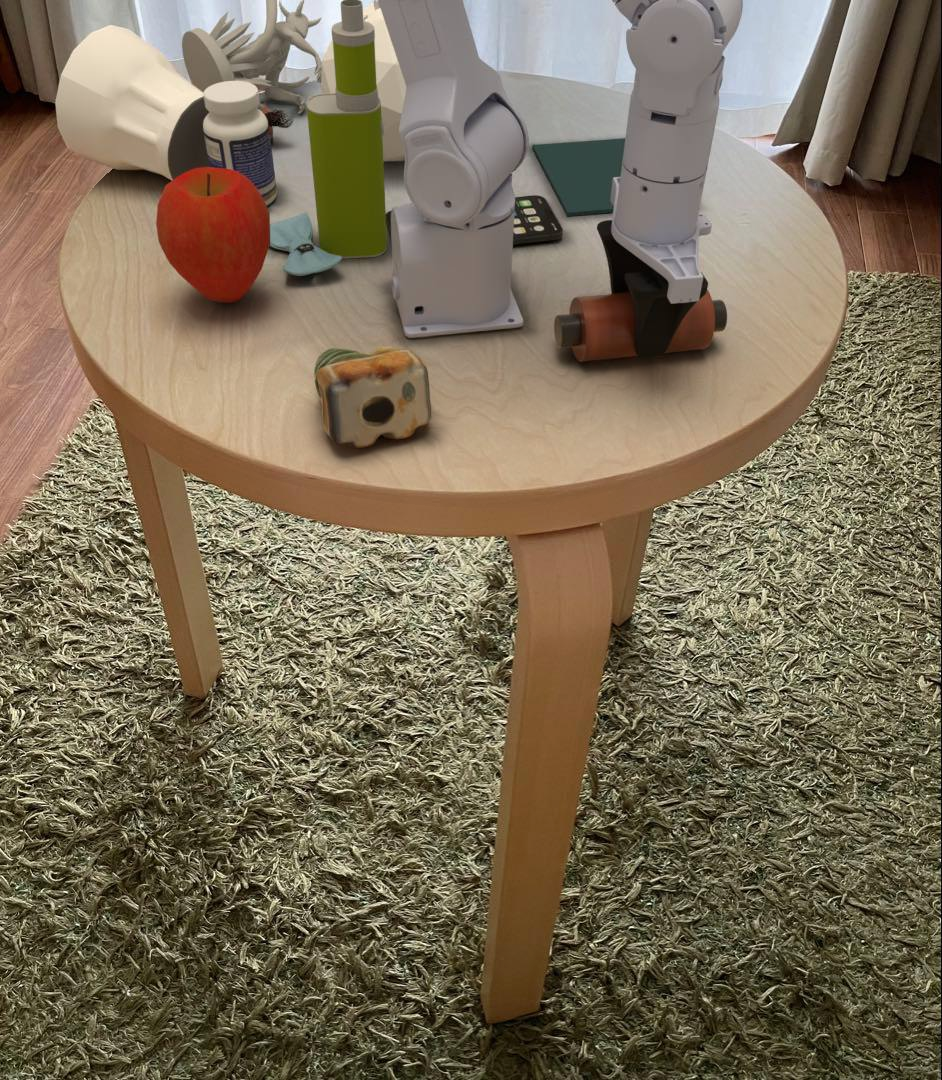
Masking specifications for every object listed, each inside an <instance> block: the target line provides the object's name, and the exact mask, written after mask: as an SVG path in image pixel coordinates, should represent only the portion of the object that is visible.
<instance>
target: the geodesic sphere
mask: <svg viewBox="0 0 942 1080" xmlns="http://www.w3.org/2000/svg"><path fill="white" fill-rule="evenodd" d="M363 21H365V22H368V23H370V24H372V25H373V26H374V30H375V39H374V41H375V63H376V85H377V89H378V97H379V99H380V101H381V117H382V122H383V126H384V134H383V137H382V141H383V162H405V152H404V147H403V144H402V141H401V138H400V135H399V124H400V119H401V114H402V109H403V104H404V100H405V95H406V84H405V81H404V78H403V75H402V72H401V69H400V66H399V63H398V60H397V57H396V54H395V51H394V48H393V45H392V42H391V39H390V36H389V33H388V29H387V26H386V23H385V20H384V17H383V14H382V11H381V8H380V5H379V2H378V0H373V2H372V3H370V4H369V5H367V6H366V7H365V8H364V7H363ZM320 85H321V87H320V89H321V92H320V94H329V93H336V92H335V90H336V78H335V64H334V51H333V39H332V38H331V41H330V42H329V45H328V47H327V49H326V51H325V53H324V55H323V57H322V59H321V83H320Z"/></svg>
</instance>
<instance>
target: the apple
mask: <svg viewBox="0 0 942 1080" xmlns="http://www.w3.org/2000/svg"><path fill="white" fill-rule="evenodd" d="M270 214H271V213H270V210H269V209H268V205H267V206H266V204H265V202H264V200H263V197H262V195H261V194H260V192H259V191H258V189H257V188H256V187H255V186H254V184H253V183H252V182H251V181H250V180H249V179H248V178H247V177H246V176H244V175H242V174H241V173H239V172H237V171H234V170H232V169H223V168H214V167H202V168H195V169H192V170H190V171H187V172H185V173H183V174H181V175H180V176H178V177H177V178H175V179H174V180H173V181H171V180H170V181H169V182H168V183H167V184H166V185H164V188H163V191H162V193H161V196H160V197H159V200H158V203H157V209H156V223H155V226H156V232H157V233H156V234H157V240H158V243H159V245H160V248H161V250H162V252H163V254H164V256H165V257H166V259H167V262H168V263H169V264H170V265H171V267H172V268H173V269H174V270H175V271H176V272H177V274H178V275H179V276H180V277H181V278H183V279H184V280H185V281H186V282H187V283H188V284H189V285H190V286H192V287H193V288H194V289H195V290H196V291H197V292H199V294H201V295H203V297H205V298H206V299H209V300H210V301H213V302H216V303H234V302H237V301H239V300H241V299H242V298H243V297H244V296H245V294H246V293H248V291H249V290H250V289H251V288H252V285H254V283H255V281H256V280H257V278H258V276H259V275H260V273H261V271H262V269H263V266H264V263H265V261H266V258H267V254H268V251H269V248H270V225H271V215H270Z"/></svg>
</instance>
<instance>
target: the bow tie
mask: <svg viewBox="0 0 942 1080" xmlns="http://www.w3.org/2000/svg"><path fill="white" fill-rule="evenodd" d="M312 236H313V223H312V220H311V217H310V215H309V212H308V211H305V212H303V213H300V214H298V215H296V216H293V217H288V218H286V219H285V218H284V219H283V220H278V221H276V222H274V223H270V245H269V247H271V248H273V249H276V250H280V251H284V252H289V254H288V256H287V258H286V260H285V263H284V265H283V269H282V270H283V272H284V273H286V274H289V275H292V276H296V277H303V276H307V275H311V274H317V273H321V272H325V271H327V270H330V269H332V268H335V266H337V265H338V264H339V263H340V262H341V261H342V260H343V258H342V256H338V255H333V254H329V253H327V252H325V251H323V250H322V249H320V247H317V246H316V245H314V243H313V241H312V238H313V237H312Z"/></svg>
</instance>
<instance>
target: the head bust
mask: <svg viewBox="0 0 942 1080" xmlns="http://www.w3.org/2000/svg"><path fill="white" fill-rule="evenodd" d="M263 105H264V109H263V111H261V112H262V113H263V114H264V115H265V116H266V118H267V121H268V126H269V134H270V138H271V140H272V141H274V127H278V128H280V129H288V128H290V127H292V126H293V123H294V120H295V115H294V114H292V115H290V116H289V115H288V114H287V111H286V110H284V109H273V110H272V111H269V110H270V109H269V108H268V106H267V104H266V102H265V101H263ZM268 109H269V110H268Z"/></svg>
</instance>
